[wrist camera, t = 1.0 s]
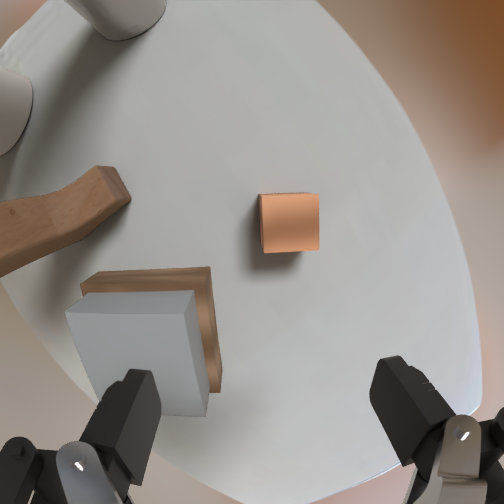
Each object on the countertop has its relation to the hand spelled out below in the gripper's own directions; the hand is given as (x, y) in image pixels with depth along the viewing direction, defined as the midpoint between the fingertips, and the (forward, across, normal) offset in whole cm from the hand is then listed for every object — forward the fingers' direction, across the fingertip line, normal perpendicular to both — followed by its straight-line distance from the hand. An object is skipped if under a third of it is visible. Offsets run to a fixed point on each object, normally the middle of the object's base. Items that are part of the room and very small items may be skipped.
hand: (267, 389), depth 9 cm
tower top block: (+17, +11, +9) cm, 22 cm away
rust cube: (+22, -4, -3) cm, 22 cm away
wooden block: (+22, +18, -5) cm, 28 cm away
